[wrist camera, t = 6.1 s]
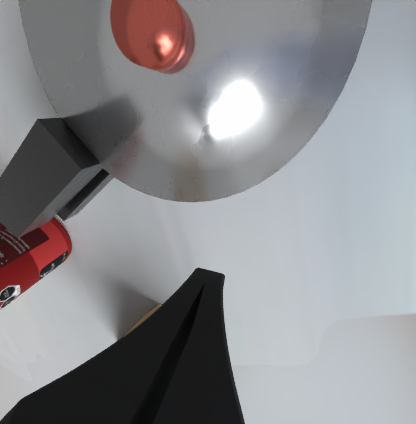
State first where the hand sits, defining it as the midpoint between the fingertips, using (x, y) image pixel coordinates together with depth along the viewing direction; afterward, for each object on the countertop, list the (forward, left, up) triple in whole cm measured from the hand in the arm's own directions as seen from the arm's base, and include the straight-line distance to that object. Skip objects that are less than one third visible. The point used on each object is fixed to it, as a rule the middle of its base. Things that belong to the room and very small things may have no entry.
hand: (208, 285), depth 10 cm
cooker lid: (0, -10, -4) cm, 11 cm away
